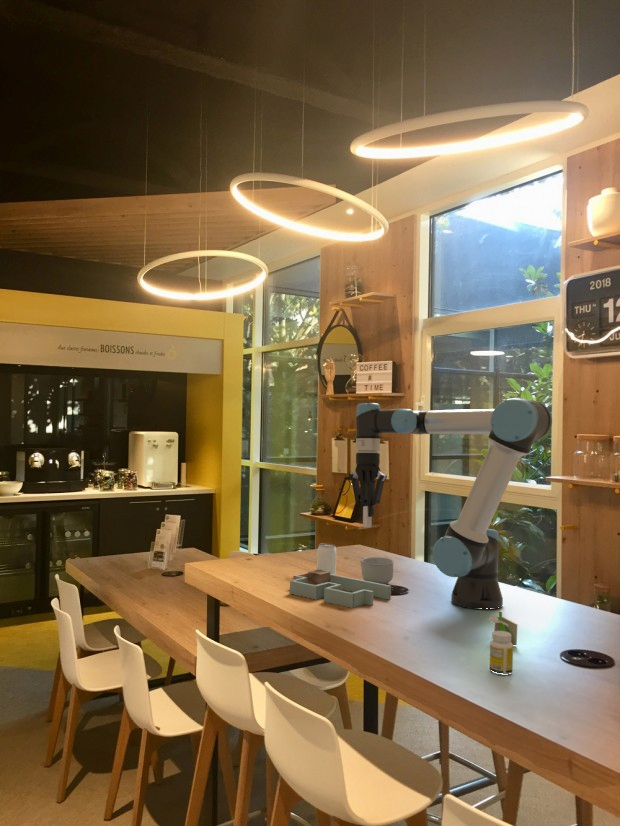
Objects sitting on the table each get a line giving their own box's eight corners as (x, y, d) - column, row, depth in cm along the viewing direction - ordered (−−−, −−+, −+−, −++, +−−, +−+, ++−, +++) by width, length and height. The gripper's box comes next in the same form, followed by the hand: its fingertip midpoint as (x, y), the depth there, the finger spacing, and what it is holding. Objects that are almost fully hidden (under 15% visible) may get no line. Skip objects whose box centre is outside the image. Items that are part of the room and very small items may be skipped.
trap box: (390, 599, 212) (391, 585, 212) (359, 609, 198) (359, 595, 199) (313, 582, 230) (313, 570, 230) (279, 591, 216) (280, 578, 216)
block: (329, 587, 225) (330, 572, 225) (320, 590, 221) (320, 574, 221) (317, 584, 228) (317, 569, 228) (307, 587, 224) (308, 571, 224)
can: (335, 579, 237) (337, 543, 237) (334, 583, 231) (336, 547, 231) (316, 578, 238) (318, 542, 238) (315, 582, 231) (316, 546, 231)
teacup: (398, 586, 230) (399, 562, 230) (369, 588, 226) (370, 563, 226) (379, 577, 243) (380, 554, 243) (351, 579, 239) (351, 555, 239)
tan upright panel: (501, 649, 169) (502, 616, 169) (487, 640, 175) (488, 608, 175) (516, 648, 170) (517, 615, 170) (501, 640, 176) (503, 608, 176)
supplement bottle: (508, 668, 154) (509, 630, 154) (515, 676, 149) (516, 636, 149) (486, 668, 153) (488, 629, 154) (493, 675, 149) (494, 636, 149)
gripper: (344, 451, 221) (343, 526, 220) (379, 452, 214) (379, 529, 213) (356, 451, 227) (356, 524, 227) (391, 452, 220) (391, 527, 219)
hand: (367, 526), depth 220 cm, fingers closed
